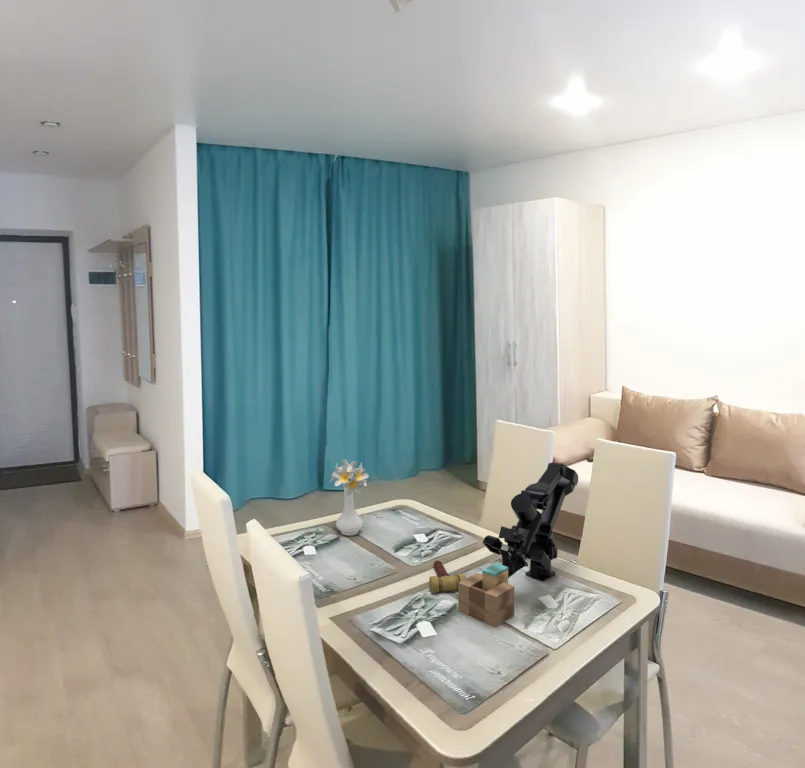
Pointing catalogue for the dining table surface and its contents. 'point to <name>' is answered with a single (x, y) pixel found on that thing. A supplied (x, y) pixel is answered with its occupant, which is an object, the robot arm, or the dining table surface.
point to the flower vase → (349, 496)
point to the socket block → (485, 601)
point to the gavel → (444, 579)
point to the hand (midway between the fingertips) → (502, 579)
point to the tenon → (494, 576)
